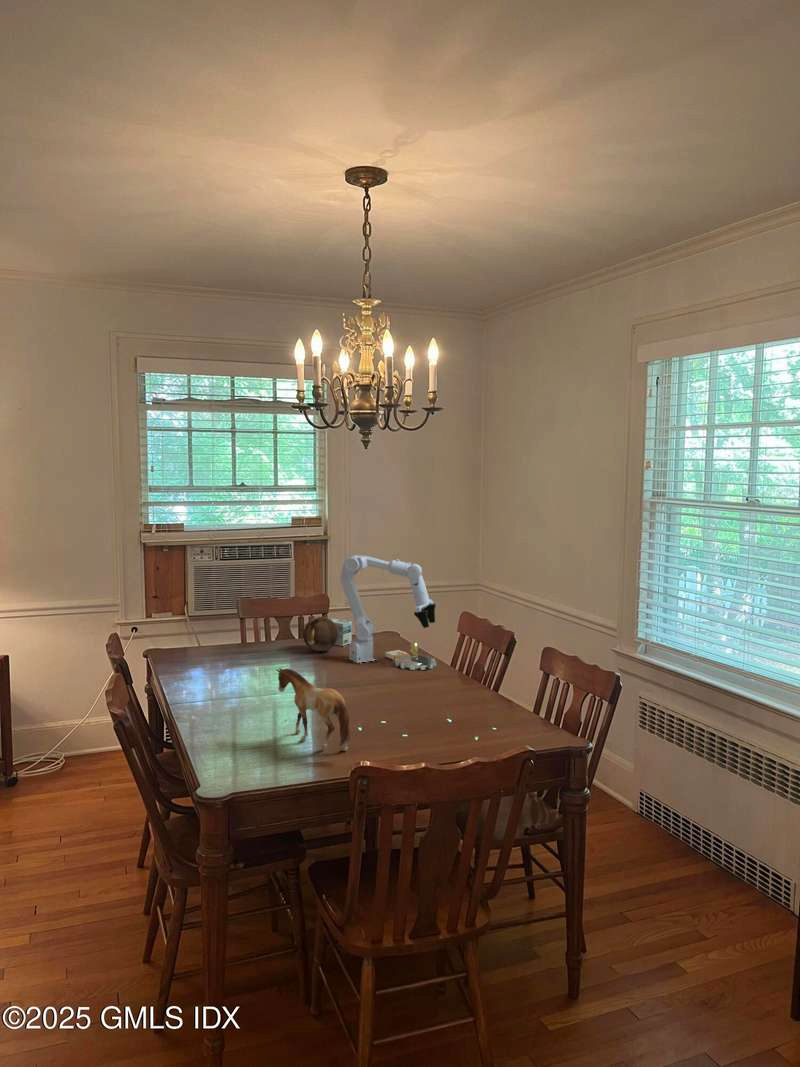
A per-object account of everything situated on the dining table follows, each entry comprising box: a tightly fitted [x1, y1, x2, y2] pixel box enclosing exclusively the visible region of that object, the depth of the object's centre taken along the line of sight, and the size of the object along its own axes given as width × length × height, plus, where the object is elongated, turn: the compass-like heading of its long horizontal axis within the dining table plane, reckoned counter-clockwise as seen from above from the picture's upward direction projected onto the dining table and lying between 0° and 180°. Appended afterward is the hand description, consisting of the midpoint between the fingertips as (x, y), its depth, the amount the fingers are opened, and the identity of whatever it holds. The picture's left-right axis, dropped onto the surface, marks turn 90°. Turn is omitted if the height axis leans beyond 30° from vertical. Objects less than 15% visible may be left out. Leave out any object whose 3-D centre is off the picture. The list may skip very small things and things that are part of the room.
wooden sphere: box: [302, 616, 338, 652], centre depth 329 cm, size 15×15×15 cm
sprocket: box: [394, 653, 437, 671], centre depth 309 cm, size 16×18×5 cm
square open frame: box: [385, 649, 410, 661], centre depth 321 cm, size 7×7×2 cm
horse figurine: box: [275, 667, 351, 752], centre depth 220 cm, size 31×8×21 cm, turn 47°
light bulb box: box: [330, 618, 353, 647], centre depth 343 cm, size 11×7×11 cm, turn 58°
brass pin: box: [409, 641, 419, 656], centre depth 324 cm, size 3×3×6 cm
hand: (429, 624), depth 310 cm, fingers open, 7 cm apart
